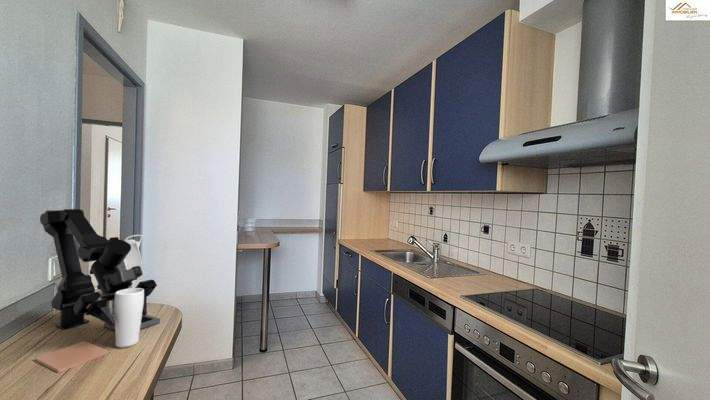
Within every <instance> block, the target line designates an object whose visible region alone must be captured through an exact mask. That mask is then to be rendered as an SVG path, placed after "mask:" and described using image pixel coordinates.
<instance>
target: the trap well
mask: <svg viewBox="0 0 710 400" xmlns="http://www.w3.org/2000/svg"><path fill="white" fill-rule="evenodd" d="M114 321H115V319H114ZM159 324H161V318H159V317H157V316H154V315H148V314H146V315H145V316H143V315H142V319H141V326H140V331H143V330H145V329H149V328H151V327H154V326H156V325H159ZM103 328H104V329H107V330H109V331H111V332H115V325H114V326H111V325H109V324H107V323H105V322H103Z"/></svg>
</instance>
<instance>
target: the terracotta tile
mask: <svg viewBox="0 0 710 400" xmlns="http://www.w3.org/2000/svg"><path fill="white" fill-rule="evenodd" d="M108 354H109V350H108V349H105V348H103V347H100V346H97V345H95V344H92V343H91V342H88V341H85V340H83V341H81V342H78V343H75V344H72V345H69V346H66V347H63V348H60V349H57V350H54V351H51V352H48V353H45V354H42V355H39V356H36V357H35V358H34V361H35V362H36V363H39V364H41V365H43V366H45V367H46V368H48V369H51V370H52V371H54V372H55V373H59V374H60V373H62V372H64V371H67V370H70V369H72V368H74V367H76V366H80V365H82V364H85V363H87V362H90V361H92V360H94V359H97V358H100V357H102V356H104V355H108Z"/></svg>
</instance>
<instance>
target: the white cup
mask: <svg viewBox="0 0 710 400" xmlns="http://www.w3.org/2000/svg"><path fill="white" fill-rule="evenodd" d="M143 306H144V289H142V288H129V289H123V290H119V291H117V292H115V298H114V320H115V334H114V335H115V342H114V343H115V347H116V348H120V349H121V348H124V349H125V348H128V347H132V346H134V345H136V344H139V340H140V332H141V330H140V326H141V319H142V313H143Z"/></svg>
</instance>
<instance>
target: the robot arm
mask: <svg viewBox="0 0 710 400" xmlns="http://www.w3.org/2000/svg"><path fill="white" fill-rule="evenodd" d="M39 222H40V224H41V225H42V227H43V229H44V232H45V233H47V234H48V235H49V236H50V237H52V239H53V242H54V247H55V251H56V256H57V260H58V265H59V270H60V275H61V280H60V281H59V284H58V286H57V288H56V289H57V292H56V294H55V295H54V296H53V299H51V307H52V309H54V310H57V311H60V314H59V318H60V319H59V320H60V321H59V322H58V323H55V324H54V327H56V328H59V329H61V330H67V329H72V328H74V327H78V326H82V325H84V324H87V323H88V324H89V323H90V322H91V321H90V319H86V318H85V316H91V317H94V318H97V319H98V320H100V321H102V322H103V323H107V324H109V325H111V326H114V325H115V321H114V320H115V318H113V316H112V315H111V313H110V311H109V309H108V307H107V301H111V300H114V298H115V292H117V291H119V290H123V289H129V286H131V285H132V284H133V283H132V281H134V280H137V278H138V277H140V276H142V277H143V268H142V269H141V268H140V266H135V267H133V268H131V269H129V270H124V271H120V270H119V268H118V265H120V264H121V263H122V262H123V261H124V259H125V258H126V256H127V255H128V253H129V252H130V250H131V245H130V244H128V243H127V242H125V241H124V240H123V239H119V237H118V236H115V237H109V239H107V237H105V236H102V235H99V234H98V233H97V232H96V230H95V229H94V227H93V226H92V225H91V224H90V222H89V221H88V219H87V217H85V212H84V209H80V208H65V209H61V210H60V209H57V210H56V209H55V210H53V209H52V210H51V209H50V210H46V211H45V212H44V213H42V214H41V215H40V217H39ZM75 240H76V241H77V243H78V245H79V247H78V248H77V245H76V241H75ZM80 260H81V261H82V262H83V263H90V262H93V263H92V264H91V265H90V269H89V273H88V274H85V273H83V271H82V267H81V262H80ZM91 275H93V276H94V278H95V280H96V282H97V285H96V288H95V286H94V283H93V281H92V276H91ZM157 286H158V284H157V282H156V281H155V279H147V280H141V282H139V284H138V285H137V286H136V287H135V288H142V289H144V306H143V313H142V315H143V316H145V315H148V314H147V313H148V312H147V300H148V298H147V297H149V296H150V295H151V294H152V292H154V290H155V288H156V287H157ZM96 289H97V290H99V289H101V291H102V293H103V295H102V296H101V295H100V293H99V292H97V291H96Z"/></svg>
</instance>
